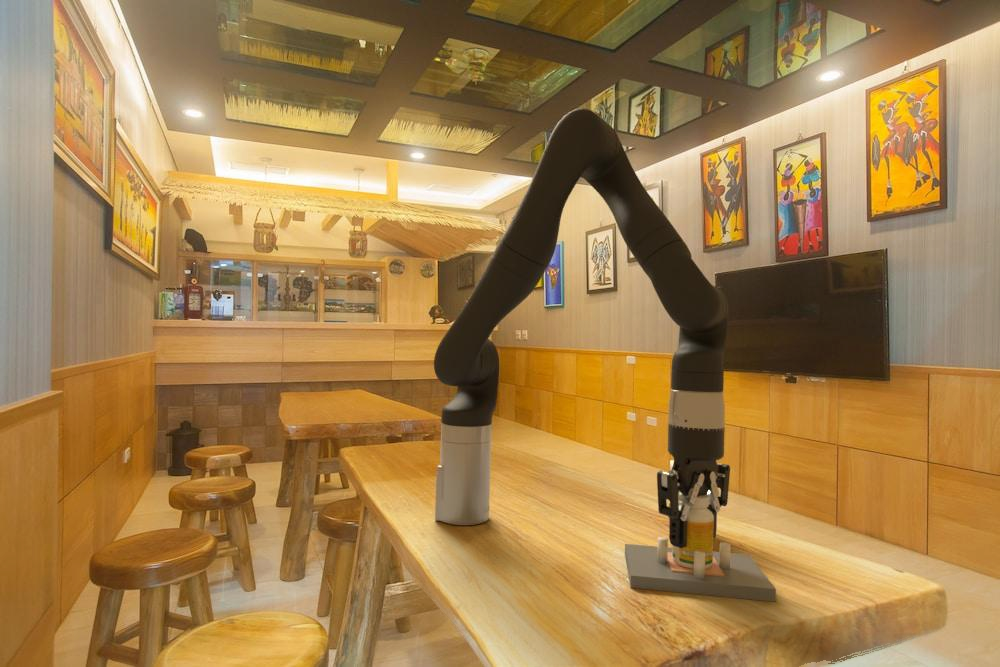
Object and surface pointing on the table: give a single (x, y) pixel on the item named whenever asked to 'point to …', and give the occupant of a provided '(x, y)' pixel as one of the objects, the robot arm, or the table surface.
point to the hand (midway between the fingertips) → (693, 541)
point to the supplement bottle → (697, 534)
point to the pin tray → (697, 573)
